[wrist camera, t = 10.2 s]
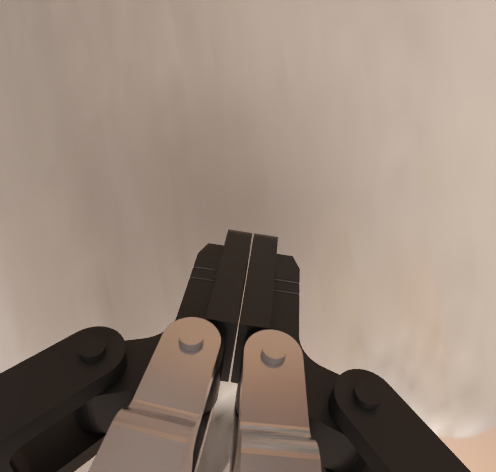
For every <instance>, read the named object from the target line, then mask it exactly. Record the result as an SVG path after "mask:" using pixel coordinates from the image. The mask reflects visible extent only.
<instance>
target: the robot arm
mask: <svg viewBox="0 0 496 472" xmlns="http://www.w3.org/2000/svg"><path fill="white" fill-rule="evenodd" d="M251 238H252V233H247V232H241V231H234V230H228V233H227V237H226V241H225V245H224V246H222V245H216V244H207V245H206V246H205V247H204V248H203V249H202V250H201V251H200V252H199V253H198V255H197V258H196V261H195V264H194V268H193V270H192V273H191V276H190V279H189V282H188V285H187V288H186V291H185V294H184V297H183V300H182V303H181V306H180V309H179V312H178V315H177V317H176V320H175V321H174V322H173V323H171V324H170V325H169V326H168V327H167V328H166V329H165V331H164V332H162V333H161V334H158V335H156V336H153V337H150V338H144V339H136V340H127V341H124V339H123V337H122V336H121V334H119V333H118V332H117V331H115V330H114V329H111V328H108V327H100V326H98V327H90V328H86V329H83V330H81V331H78V332H76V333H75V334H73V335H71V336H69V337H67V338H65V339H63V340H62V341H60V342H58V343H56V344H54V345H52V346H51V347H49V348H47V349H45V350H43V351H41V352H39V353H38V354H36V355H34V356H32V357H30V358H28V359H26V360H25V361H23V362H21V363H19V364H17V365H15V366H13V367H12V368H10V369H8V370H6V371H4V372H2V373H0V472H74V471H75V470H77V469H78V468H79V467H81V466H82V465H83V464H85V463H86V462H87V461H89V460H90V459H91V458H93V457H94V456H95V455H96V457H95V459H94V461H93V463H92V465H91V467H90V469H89V471H88V472H196V471H197V467H198V464H199V460H200V456H201V453H202V449H203V445H204V442H205V438H206V435H207V431H208V427H209V424H210V420H211V416H212V413H213V408H214V405H215V403H216V400H217V397H218V391H219V386H220V381H226V382H228V380H229V374H230V368H231V362H232V357H233V351H234V345H235V339H236V333H237V327H238V321H239V315H240V309H241V303H242V297H243V291H244V285H245V279H246V272H247V266H248V259H249V252H250V245H251ZM277 242H278V237H274V236H267V235H261V234H255V233H254V238H253V244H252V250H251V256H250V262H249V268H248V274H247V280H246V286H245V292H244V298H243V304H242V310H241V316H240V322H239V329H238V336H237V343H236V350H235V356H234V363H233V370H232V377H231V382H233V383H238V387H237V394H236V401H235V407H234V413H233V428H232V443H231V458H230V472H471V471H470V470H469V469H468V468H467V467H466V466H465V465H464V464H463V463H462V462H461V461H460V460H459V459H458V458H457V457H456V456H455V454H454V453H453V452H452V451H451V450H450V449H449V448H448V447H447V446H446V445H445V444H444V443H443V442H442V441H441V440H440V439H439V437H438V436H437V435H436V434H435V433H434V432H433V431H432V430H431V429H430V428H429V427H428V426H427V425H426V424H425V423H424V422H423V420H422V419H421V418H420V417H419V416H418V415H417V414H416V413H415V412H414V411H413V410H412V409H411V408H410V407H409V406H408V404H407V403H406V402H405V401H404V400H403V399H402V398H401V397H400V396H399V395H398V394H397V393H396V392H395V391H394V390H393V389H392V387H391V386H390V385H389V384H388V383H387V382H386V381H385V380H384V379H382V378H381V377H379V376H378V375H376V374H374V373H372V372H370V371H366V370H362V369H352V370H348V371H345V372H344V373H342V374H341V375H339V374H337V373H334V372H332V371H330V370H328V369H326V368H324V367H322V366H320V365H318V364H317V363H315V362H314V361H312V360H311V359H310V358H309V357H308V356H307V355H306V353H305V352H304V350H303V349H302V347H301V344H300V341H299V272H300V269H299V267H298V265H297V263H296V262H295V260H294V258H293V256H287V255H280V254H277Z"/></svg>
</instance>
